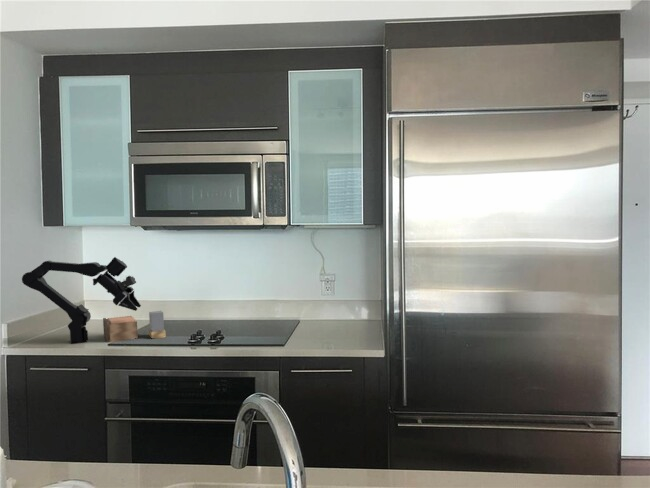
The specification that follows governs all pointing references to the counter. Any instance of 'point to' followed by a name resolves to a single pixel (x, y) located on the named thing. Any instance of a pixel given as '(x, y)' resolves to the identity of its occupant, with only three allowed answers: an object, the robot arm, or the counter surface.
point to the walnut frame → (119, 330)
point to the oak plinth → (157, 334)
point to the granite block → (156, 321)
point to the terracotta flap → (121, 319)
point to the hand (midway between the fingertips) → (138, 308)
